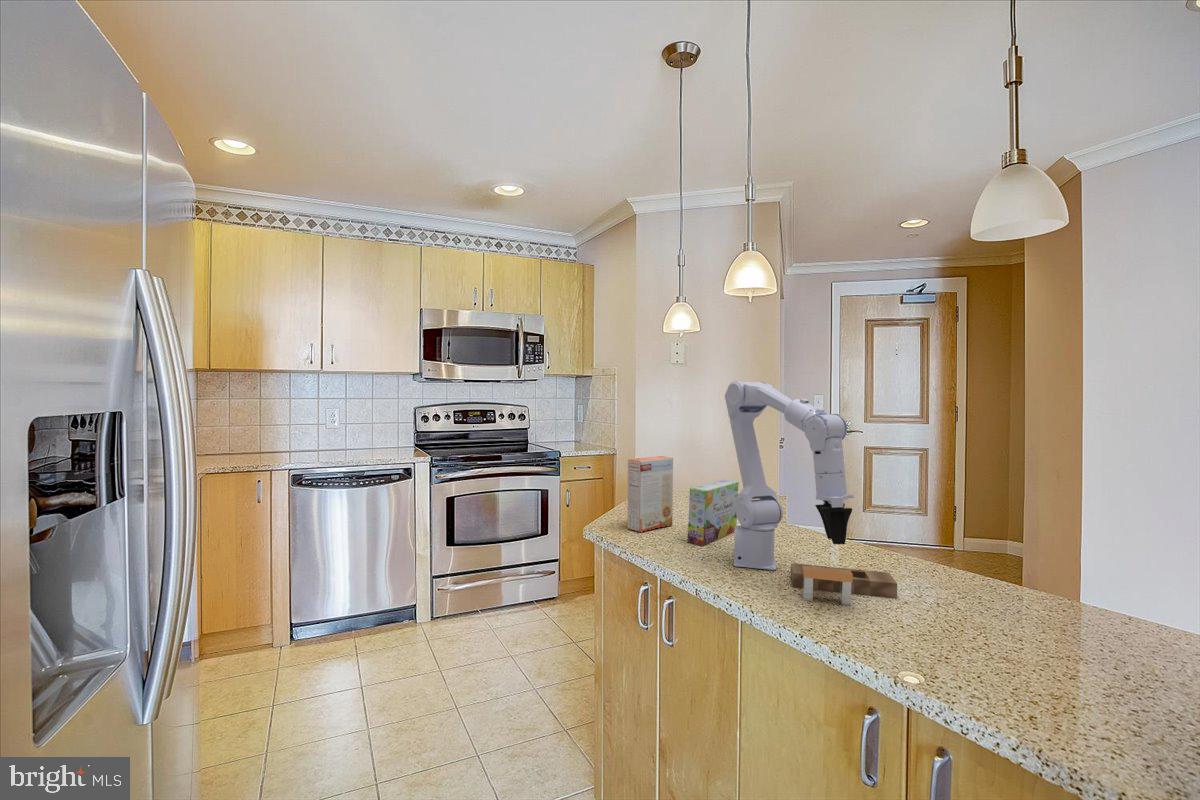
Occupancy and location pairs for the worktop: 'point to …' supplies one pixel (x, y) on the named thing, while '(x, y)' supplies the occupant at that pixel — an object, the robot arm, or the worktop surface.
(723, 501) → the snack box
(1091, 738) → the worktop surface
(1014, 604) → the worktop surface
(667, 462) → the cracker box
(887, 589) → the brown wooden peg board
